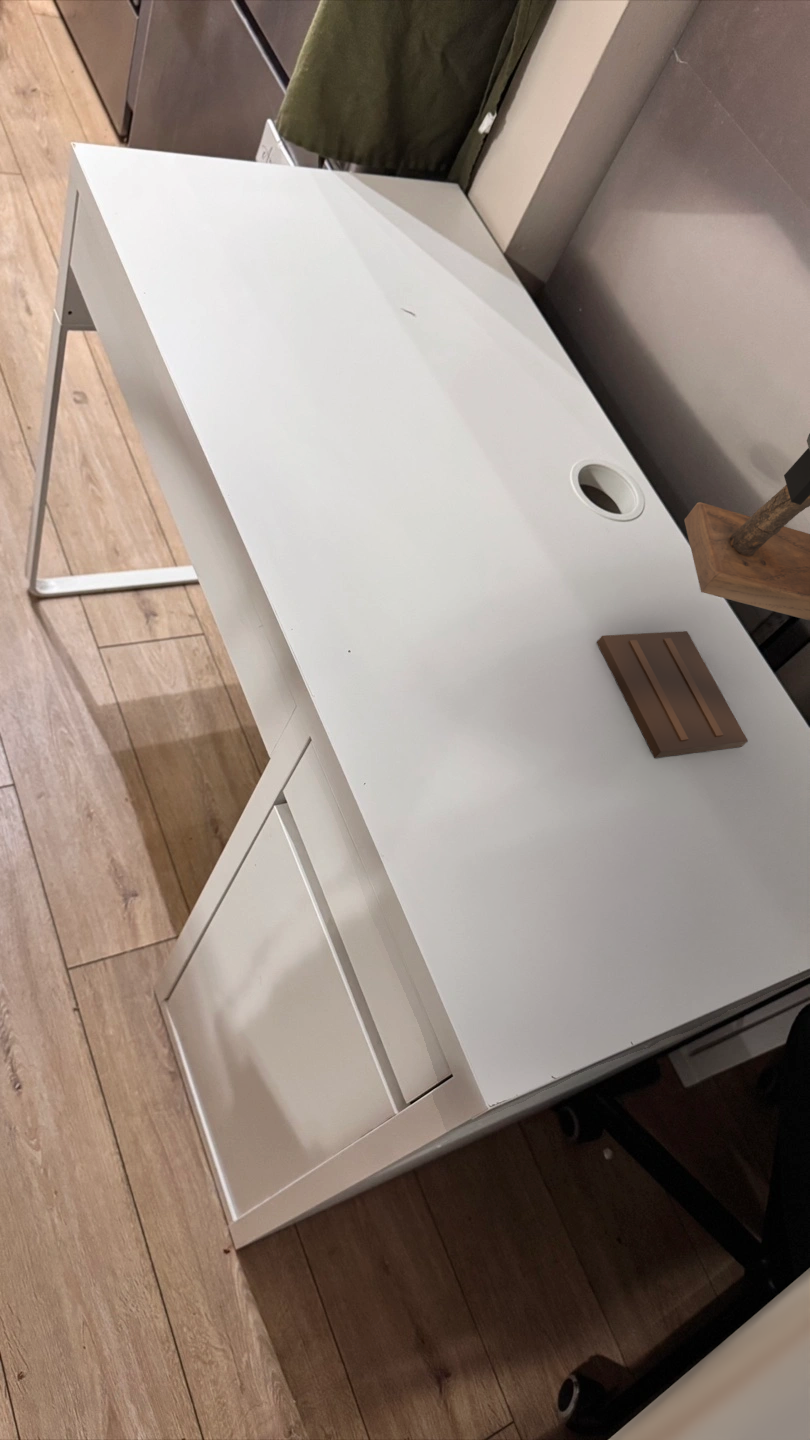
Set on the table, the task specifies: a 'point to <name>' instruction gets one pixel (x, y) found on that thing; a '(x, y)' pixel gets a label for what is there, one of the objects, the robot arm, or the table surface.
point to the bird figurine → (753, 555)
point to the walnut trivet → (671, 693)
